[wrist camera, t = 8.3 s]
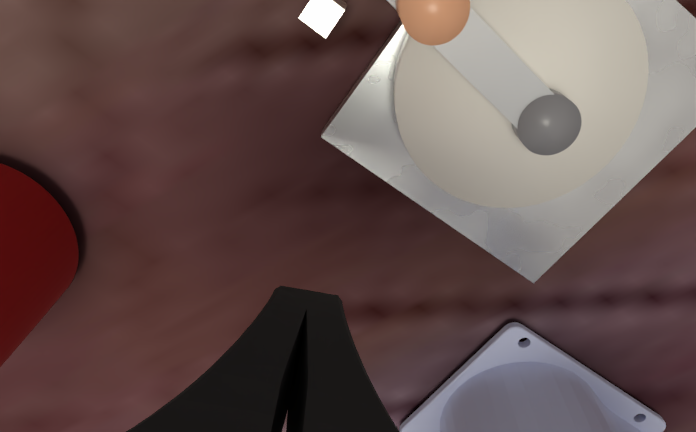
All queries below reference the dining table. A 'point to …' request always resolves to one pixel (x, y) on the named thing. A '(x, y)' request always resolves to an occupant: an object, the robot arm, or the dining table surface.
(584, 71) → the white lever switch
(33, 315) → the beverage can
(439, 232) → the dining table surface
